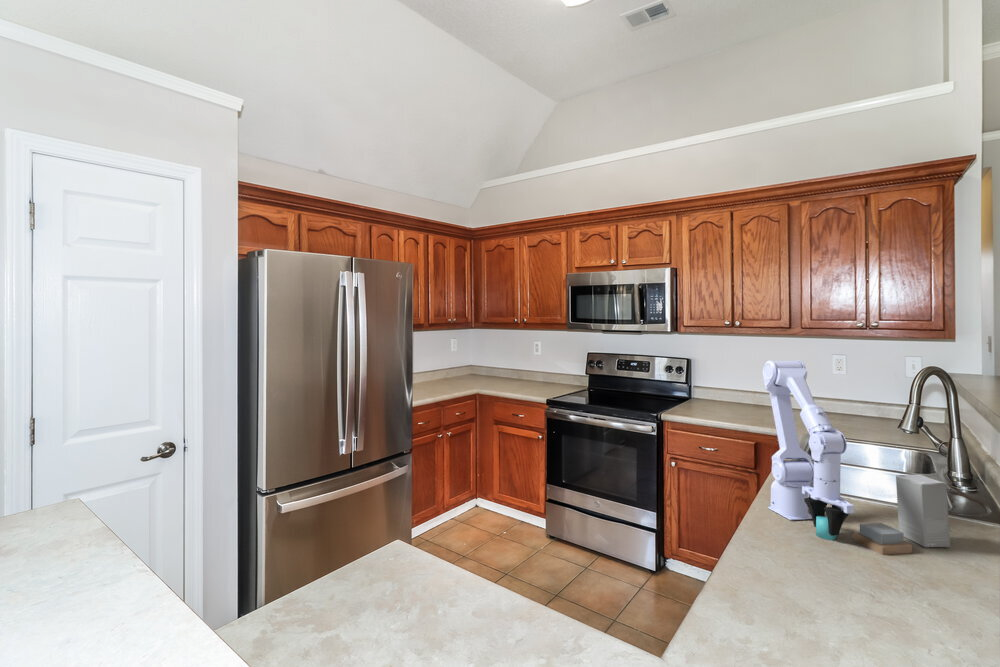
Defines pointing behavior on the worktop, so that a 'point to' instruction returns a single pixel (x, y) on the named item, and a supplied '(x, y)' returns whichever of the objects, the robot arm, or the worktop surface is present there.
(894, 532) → the slate top slab
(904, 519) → the skincare box
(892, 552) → the walnut base slab
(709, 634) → the worktop surface
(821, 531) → the teal cylinder
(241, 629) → the worktop surface
